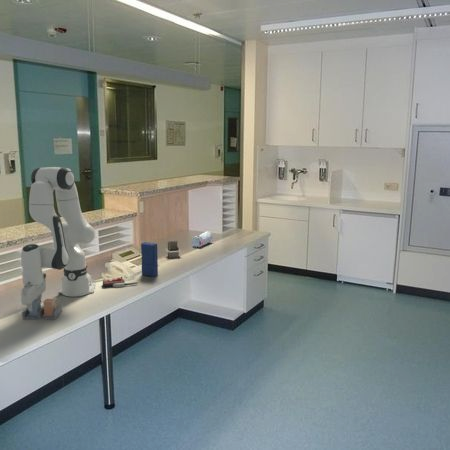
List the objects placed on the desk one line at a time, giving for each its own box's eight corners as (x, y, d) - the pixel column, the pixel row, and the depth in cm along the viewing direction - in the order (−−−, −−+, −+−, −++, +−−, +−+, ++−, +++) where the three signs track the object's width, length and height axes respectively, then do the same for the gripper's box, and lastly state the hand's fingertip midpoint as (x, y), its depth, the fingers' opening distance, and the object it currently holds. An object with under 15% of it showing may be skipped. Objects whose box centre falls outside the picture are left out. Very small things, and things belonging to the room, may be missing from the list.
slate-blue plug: (32, 311, 221) (31, 298, 220) (41, 311, 221) (40, 298, 220) (29, 314, 217) (28, 301, 216) (37, 314, 217) (36, 301, 216)
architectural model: (183, 253, 336) (183, 238, 334) (189, 259, 320) (189, 243, 318) (158, 255, 329) (157, 240, 327) (163, 261, 314) (163, 245, 312)
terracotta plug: (47, 311, 221) (46, 298, 220) (55, 311, 221) (54, 298, 220) (44, 314, 217) (43, 301, 216) (52, 314, 217) (51, 301, 216)
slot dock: (31, 311, 224) (31, 304, 224) (62, 311, 225) (61, 304, 224) (22, 319, 215) (22, 312, 214) (54, 319, 215) (54, 312, 214)
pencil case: (200, 248, 349) (200, 236, 347) (190, 247, 352) (190, 235, 351) (213, 242, 367) (213, 231, 365) (203, 241, 371) (203, 230, 369)
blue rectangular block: (158, 274, 284) (158, 243, 280) (153, 277, 279) (153, 245, 275) (146, 272, 288) (145, 241, 284) (141, 274, 283) (140, 243, 279)
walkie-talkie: (102, 290, 257) (138, 285, 264) (102, 282, 256) (138, 278, 263) (100, 285, 265) (135, 281, 272) (100, 277, 264) (134, 274, 271)
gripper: (30, 286, 206) (32, 315, 209) (47, 272, 226) (49, 299, 229) (16, 286, 206) (18, 315, 209) (34, 272, 226) (36, 299, 229)
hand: (35, 306), depth 219 cm, fingers open, 8 cm apart
